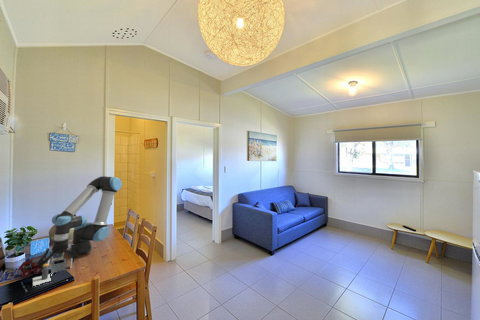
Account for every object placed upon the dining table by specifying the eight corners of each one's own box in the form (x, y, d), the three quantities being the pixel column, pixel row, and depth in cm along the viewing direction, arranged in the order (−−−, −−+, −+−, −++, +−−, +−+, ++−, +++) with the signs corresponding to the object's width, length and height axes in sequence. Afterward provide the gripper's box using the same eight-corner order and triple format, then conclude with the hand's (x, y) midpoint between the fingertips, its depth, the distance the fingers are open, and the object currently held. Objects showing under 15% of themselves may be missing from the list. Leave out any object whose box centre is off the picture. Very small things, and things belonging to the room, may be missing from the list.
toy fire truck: (17, 274, 125) (19, 258, 126) (44, 268, 134) (46, 252, 135) (17, 279, 121) (19, 262, 121) (45, 272, 130) (46, 256, 130)
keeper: (32, 279, 121) (34, 263, 121) (54, 274, 128) (56, 259, 129) (32, 287, 114) (34, 270, 114) (56, 280, 121) (57, 264, 122)
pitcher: (52, 247, 165) (56, 218, 166) (43, 241, 176) (46, 213, 178) (83, 240, 184) (87, 214, 186) (73, 235, 196) (76, 210, 197)
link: (49, 270, 132) (50, 261, 132) (64, 266, 137) (65, 258, 138) (50, 274, 127) (51, 265, 127) (66, 271, 132) (66, 262, 133)
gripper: (35, 245, 121) (30, 279, 120) (85, 237, 140) (81, 266, 139) (34, 241, 126) (30, 274, 125) (83, 234, 145) (79, 263, 144)
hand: (57, 270), depth 132 cm, fingers open, 13 cm apart
